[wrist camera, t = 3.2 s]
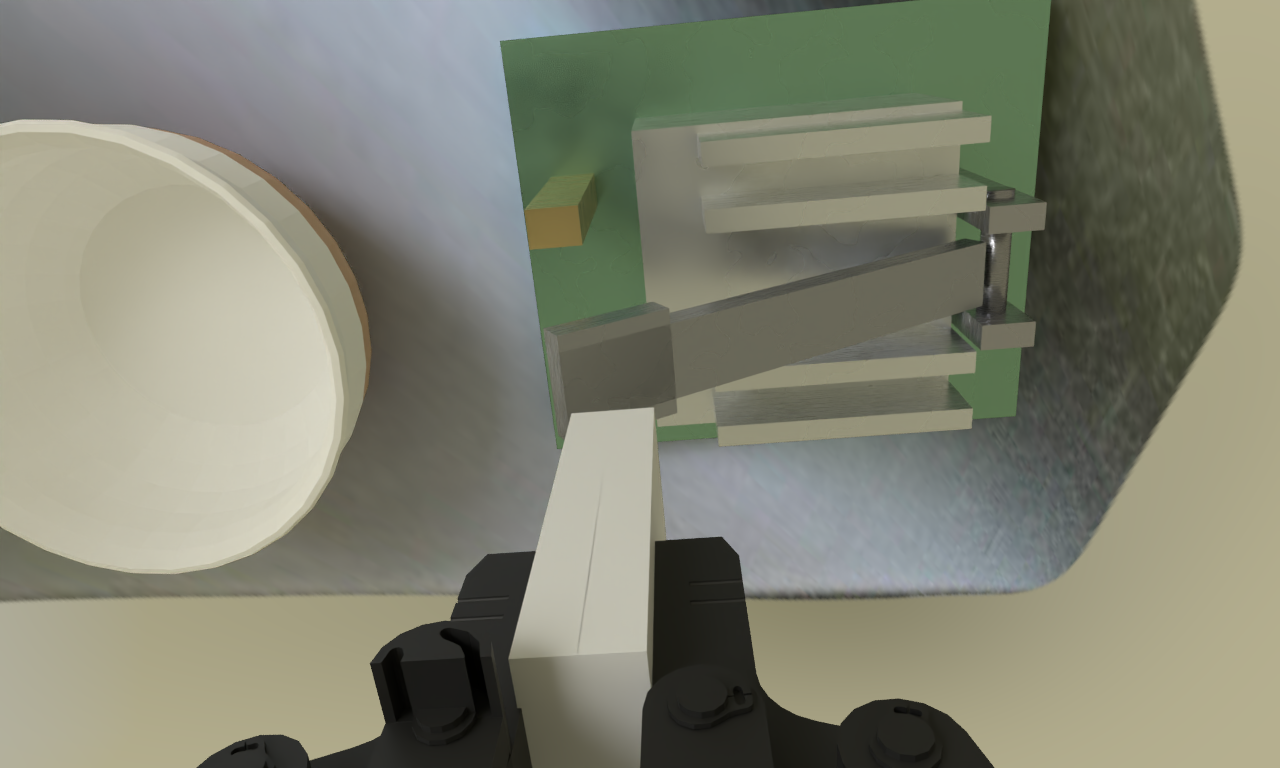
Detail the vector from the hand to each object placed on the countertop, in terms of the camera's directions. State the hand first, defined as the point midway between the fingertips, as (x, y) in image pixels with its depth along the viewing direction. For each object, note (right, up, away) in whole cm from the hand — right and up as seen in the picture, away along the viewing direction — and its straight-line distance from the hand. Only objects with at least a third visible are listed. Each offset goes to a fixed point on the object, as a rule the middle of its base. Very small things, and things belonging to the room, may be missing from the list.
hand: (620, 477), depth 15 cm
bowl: (-17, +5, +20) cm, 27 cm away
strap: (+4, +4, +8) cm, 10 cm away
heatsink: (+6, +8, +18) cm, 20 cm away
